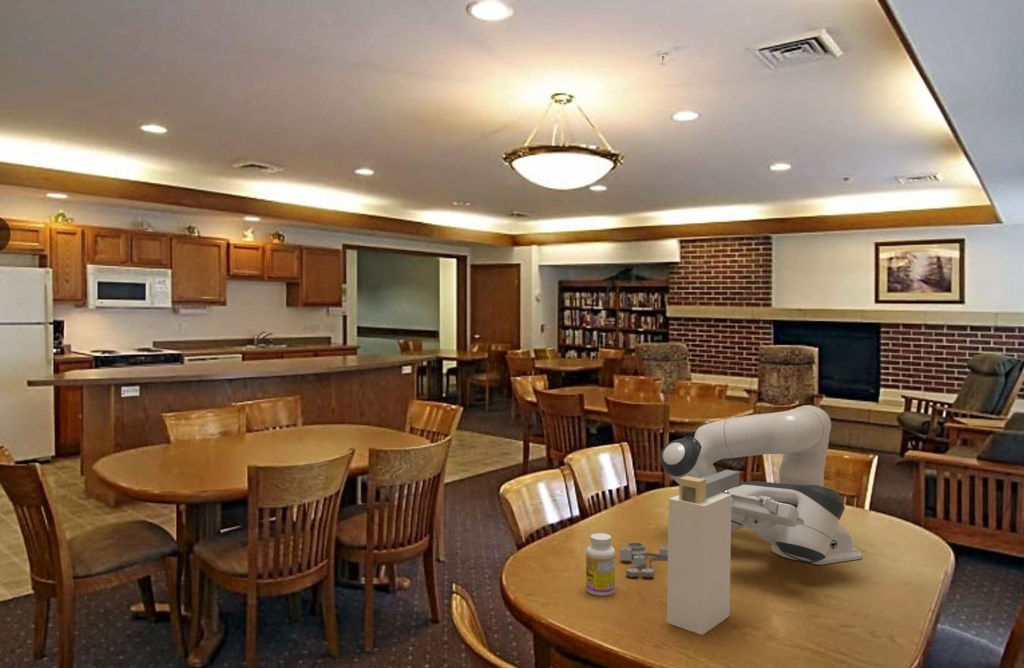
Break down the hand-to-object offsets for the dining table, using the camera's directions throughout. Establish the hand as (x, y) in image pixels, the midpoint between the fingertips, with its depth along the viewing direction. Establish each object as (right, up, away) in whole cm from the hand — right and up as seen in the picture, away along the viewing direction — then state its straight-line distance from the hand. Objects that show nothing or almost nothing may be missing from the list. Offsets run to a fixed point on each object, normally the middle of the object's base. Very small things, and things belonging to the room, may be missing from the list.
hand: (742, 496), depth 163 cm
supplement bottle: (-33, -22, 0) cm, 39 cm away
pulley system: (-17, -22, +20) cm, 34 cm away
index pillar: (-14, -22, -15) cm, 30 cm away
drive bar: (-10, +4, -12) cm, 16 cm away
